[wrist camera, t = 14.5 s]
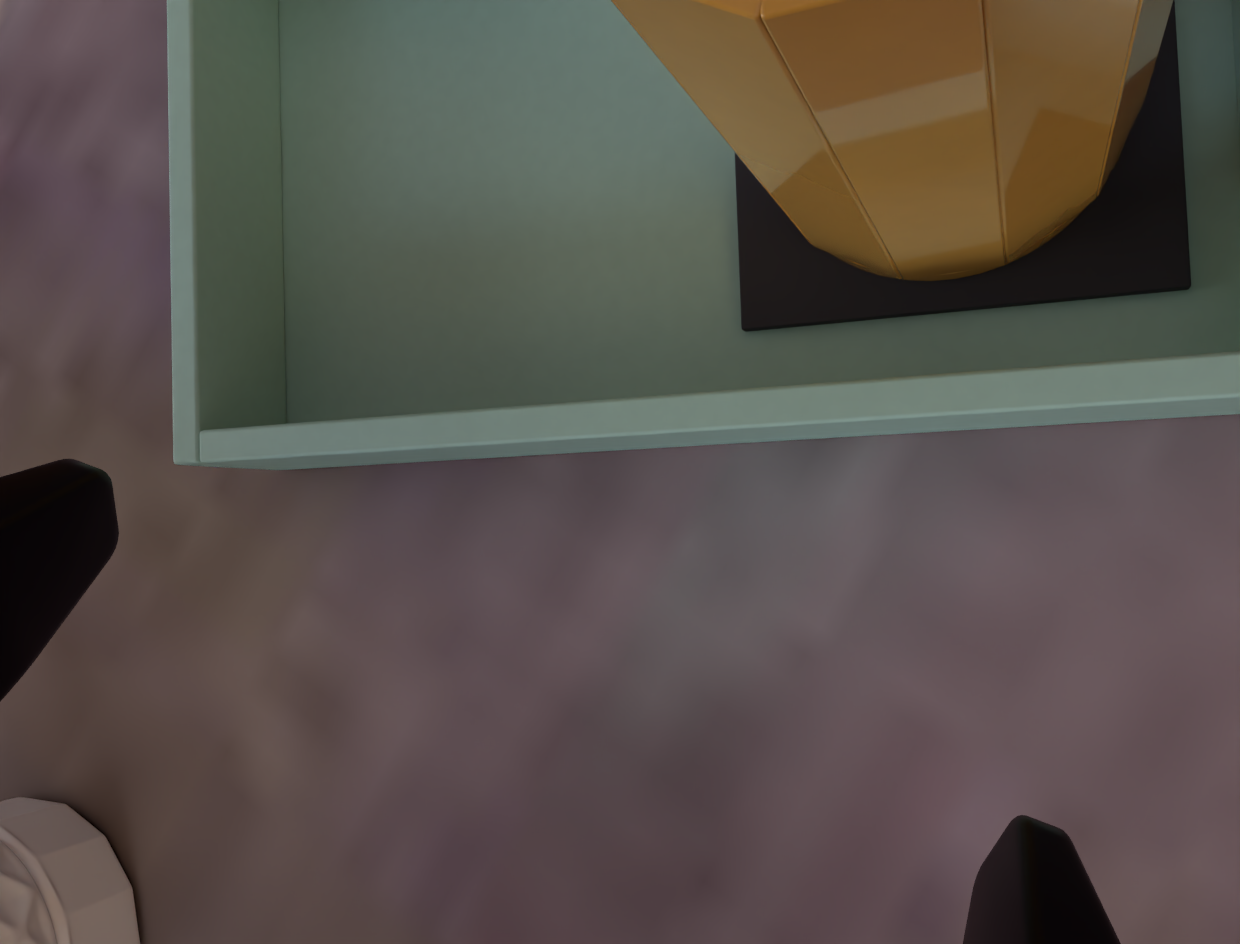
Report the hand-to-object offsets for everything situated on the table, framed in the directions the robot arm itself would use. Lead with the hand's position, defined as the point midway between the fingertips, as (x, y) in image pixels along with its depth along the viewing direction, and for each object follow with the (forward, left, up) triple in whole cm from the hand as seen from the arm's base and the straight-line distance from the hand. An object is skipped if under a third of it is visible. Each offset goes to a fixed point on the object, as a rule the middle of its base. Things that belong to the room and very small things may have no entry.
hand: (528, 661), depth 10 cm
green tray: (+9, -2, -13) cm, 16 cm away
